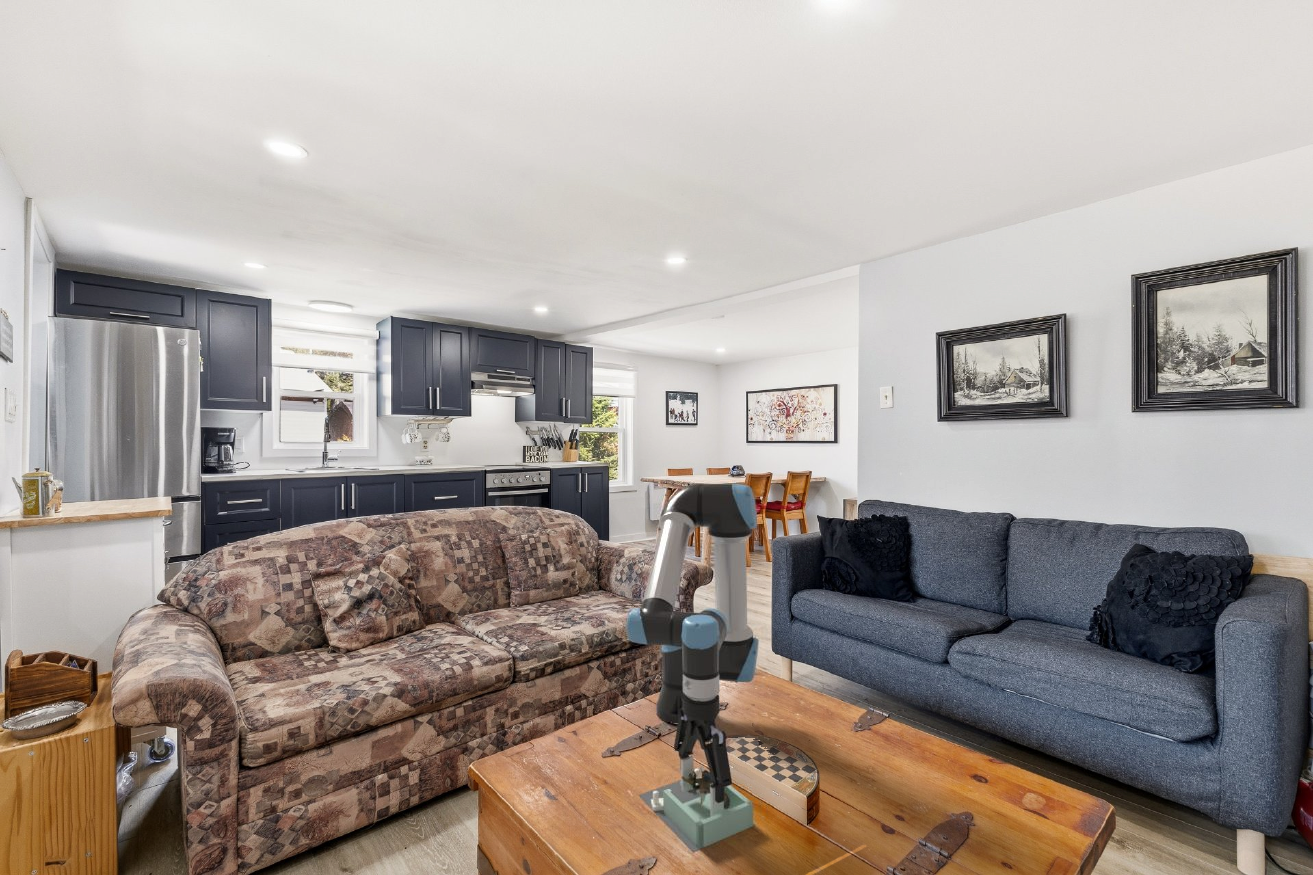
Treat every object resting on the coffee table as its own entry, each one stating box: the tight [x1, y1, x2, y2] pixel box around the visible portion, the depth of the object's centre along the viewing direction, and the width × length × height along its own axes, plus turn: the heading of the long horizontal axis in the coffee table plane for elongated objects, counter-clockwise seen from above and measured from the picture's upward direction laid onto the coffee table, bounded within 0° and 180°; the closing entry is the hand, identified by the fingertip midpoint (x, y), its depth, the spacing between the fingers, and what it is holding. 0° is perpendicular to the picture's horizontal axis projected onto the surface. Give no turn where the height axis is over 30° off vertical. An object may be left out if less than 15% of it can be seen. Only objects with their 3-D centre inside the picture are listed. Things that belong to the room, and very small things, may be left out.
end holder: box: [663, 778, 754, 850], centre depth 124 cm, size 13×13×4 cm
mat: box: [638, 779, 756, 853], centre depth 127 cm, size 15×21×1 cm
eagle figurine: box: [682, 765, 730, 810], centre depth 127 cm, size 8×7×9 cm
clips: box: [651, 768, 701, 812], centre depth 132 cm, size 14×6×3 cm, turn 121°
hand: (701, 801), depth 126 cm, fingers closed on eagle figurine, 10 cm apart
